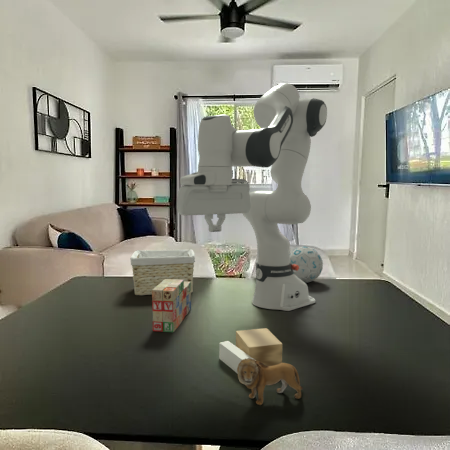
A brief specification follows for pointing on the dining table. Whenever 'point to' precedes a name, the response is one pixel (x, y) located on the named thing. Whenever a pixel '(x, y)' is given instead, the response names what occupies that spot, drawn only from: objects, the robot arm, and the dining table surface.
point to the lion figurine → (267, 377)
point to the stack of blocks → (170, 304)
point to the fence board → (231, 355)
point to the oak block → (260, 345)
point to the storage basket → (160, 268)
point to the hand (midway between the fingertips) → (215, 231)
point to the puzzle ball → (306, 263)
